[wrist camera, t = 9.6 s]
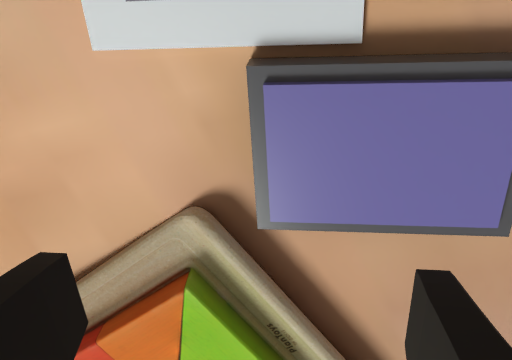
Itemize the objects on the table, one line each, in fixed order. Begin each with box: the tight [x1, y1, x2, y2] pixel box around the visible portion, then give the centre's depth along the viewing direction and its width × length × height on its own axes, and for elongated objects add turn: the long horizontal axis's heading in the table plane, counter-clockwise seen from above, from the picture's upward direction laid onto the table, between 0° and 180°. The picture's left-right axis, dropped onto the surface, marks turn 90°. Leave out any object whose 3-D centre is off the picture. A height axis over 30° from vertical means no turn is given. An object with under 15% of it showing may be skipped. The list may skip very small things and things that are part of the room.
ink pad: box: [246, 52, 512, 237], centre depth 18 cm, size 10×7×1 cm
